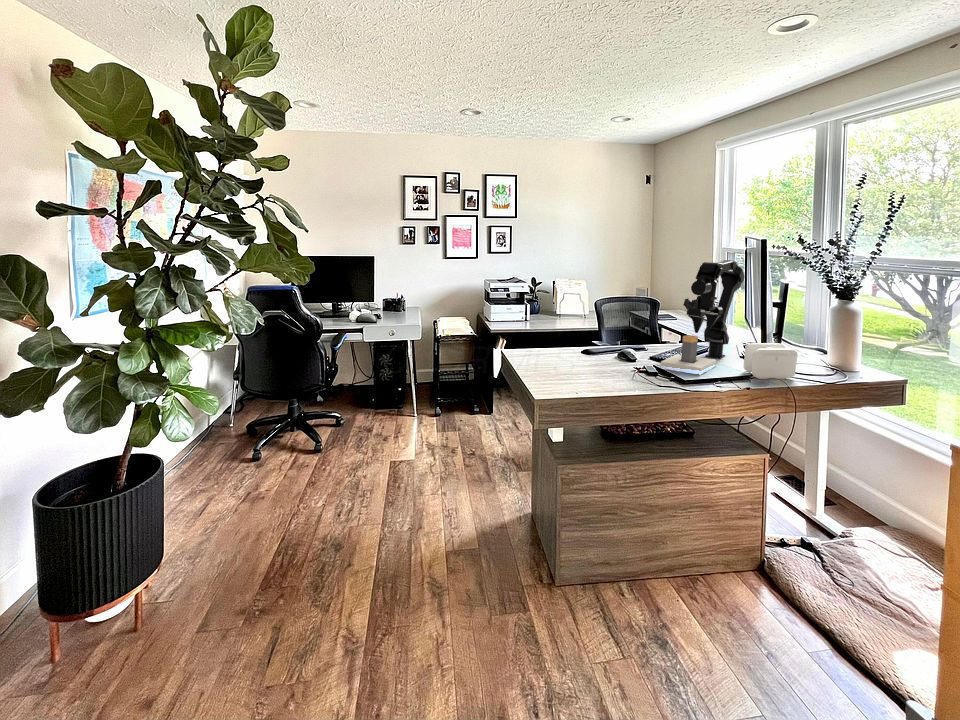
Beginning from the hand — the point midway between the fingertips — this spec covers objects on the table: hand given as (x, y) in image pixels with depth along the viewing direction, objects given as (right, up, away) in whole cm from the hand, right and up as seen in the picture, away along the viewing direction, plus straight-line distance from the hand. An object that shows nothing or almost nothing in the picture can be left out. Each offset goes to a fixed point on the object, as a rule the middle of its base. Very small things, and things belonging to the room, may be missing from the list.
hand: (702, 331), depth 230 cm
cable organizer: (+18, -18, -17) cm, 31 cm away
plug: (-7, -15, -4) cm, 17 cm away
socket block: (-7, -15, -4) cm, 17 cm away
